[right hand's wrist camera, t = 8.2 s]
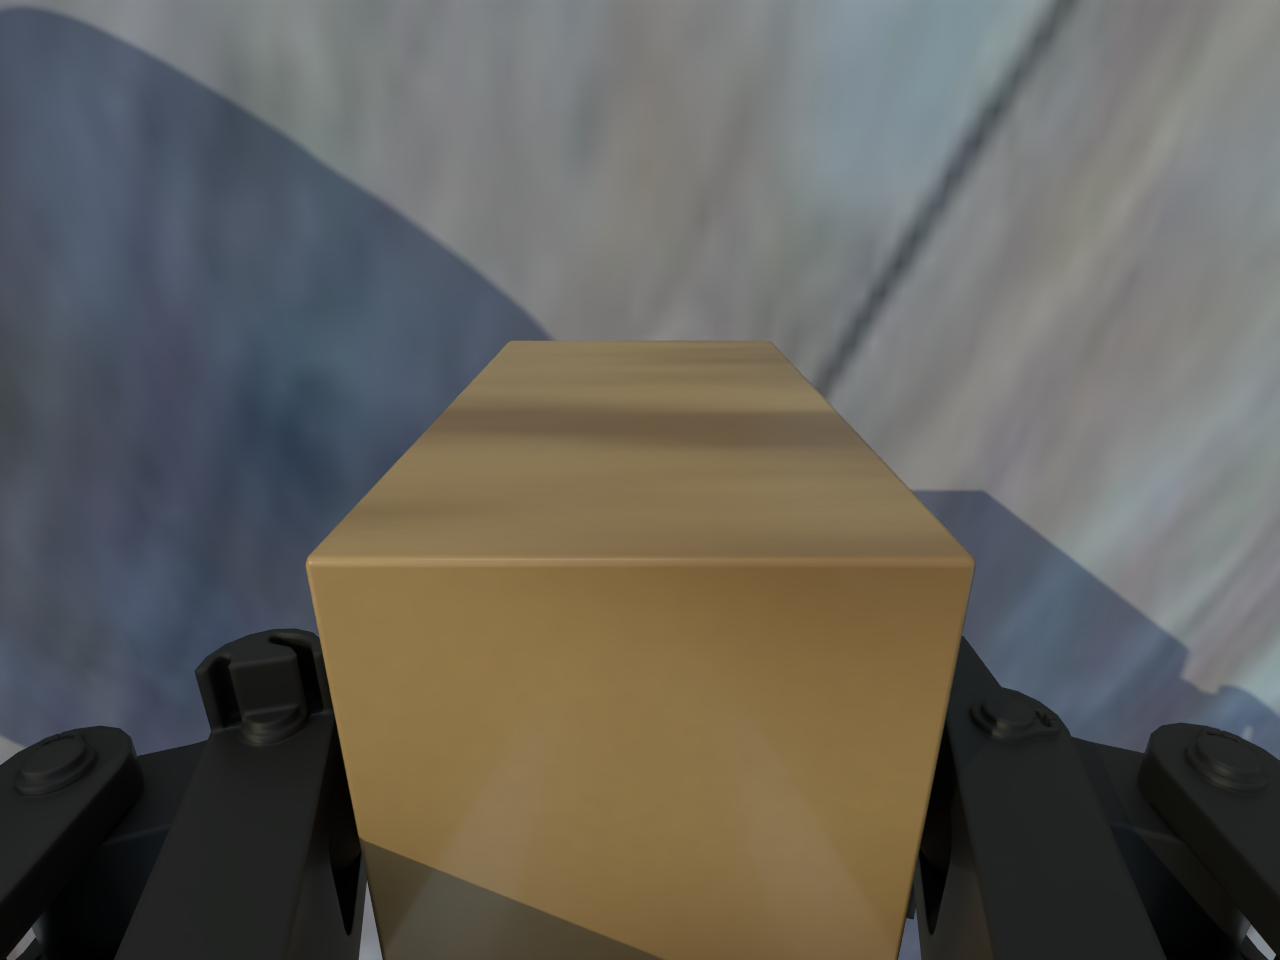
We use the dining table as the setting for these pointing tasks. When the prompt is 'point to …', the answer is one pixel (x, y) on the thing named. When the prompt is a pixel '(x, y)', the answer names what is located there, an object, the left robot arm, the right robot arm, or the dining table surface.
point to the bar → (640, 665)
